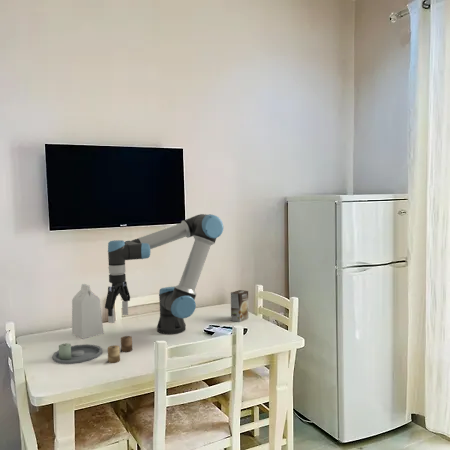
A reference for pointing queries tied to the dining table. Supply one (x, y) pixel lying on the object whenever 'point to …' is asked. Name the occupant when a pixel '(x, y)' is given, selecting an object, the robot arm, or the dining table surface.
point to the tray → (80, 354)
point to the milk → (86, 314)
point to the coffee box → (239, 305)
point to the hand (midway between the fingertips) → (118, 318)
